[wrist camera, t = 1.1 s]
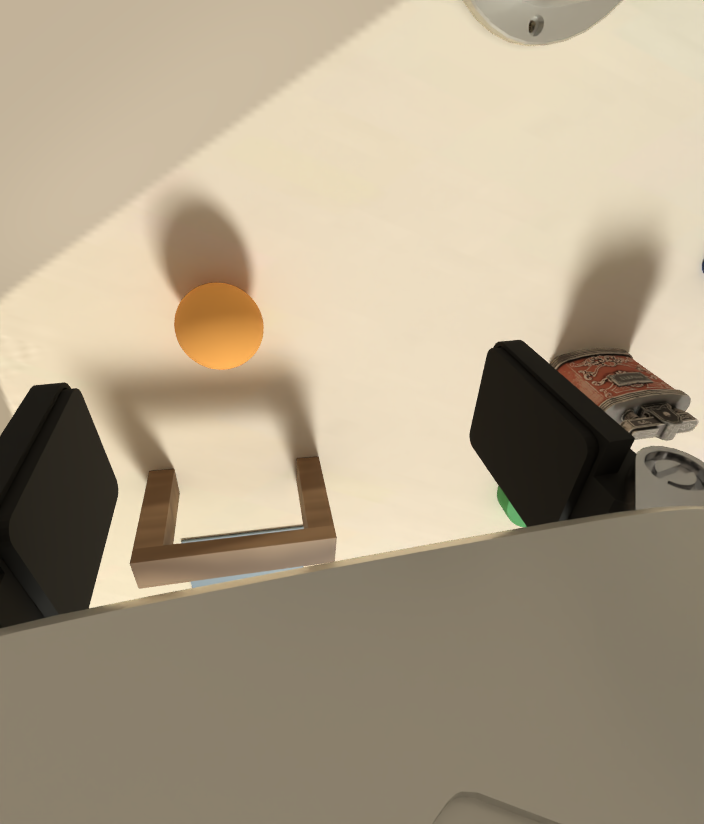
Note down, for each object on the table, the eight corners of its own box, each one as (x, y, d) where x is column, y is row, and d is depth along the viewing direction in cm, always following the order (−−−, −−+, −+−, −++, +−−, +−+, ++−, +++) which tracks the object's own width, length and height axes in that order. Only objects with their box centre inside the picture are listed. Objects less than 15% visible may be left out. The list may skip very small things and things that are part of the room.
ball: (172, 269, 29) (161, 304, 25) (259, 270, 30) (264, 302, 26) (185, 345, 32) (177, 387, 28) (263, 343, 33) (267, 383, 29)
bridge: (149, 471, 38) (129, 563, 31) (318, 456, 41) (336, 537, 34) (155, 495, 40) (138, 588, 33) (317, 480, 43) (334, 561, 36)
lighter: (632, 344, 41) (726, 408, 33) (618, 376, 43) (703, 443, 35) (553, 352, 40) (631, 420, 32) (542, 384, 42) (614, 456, 34)
